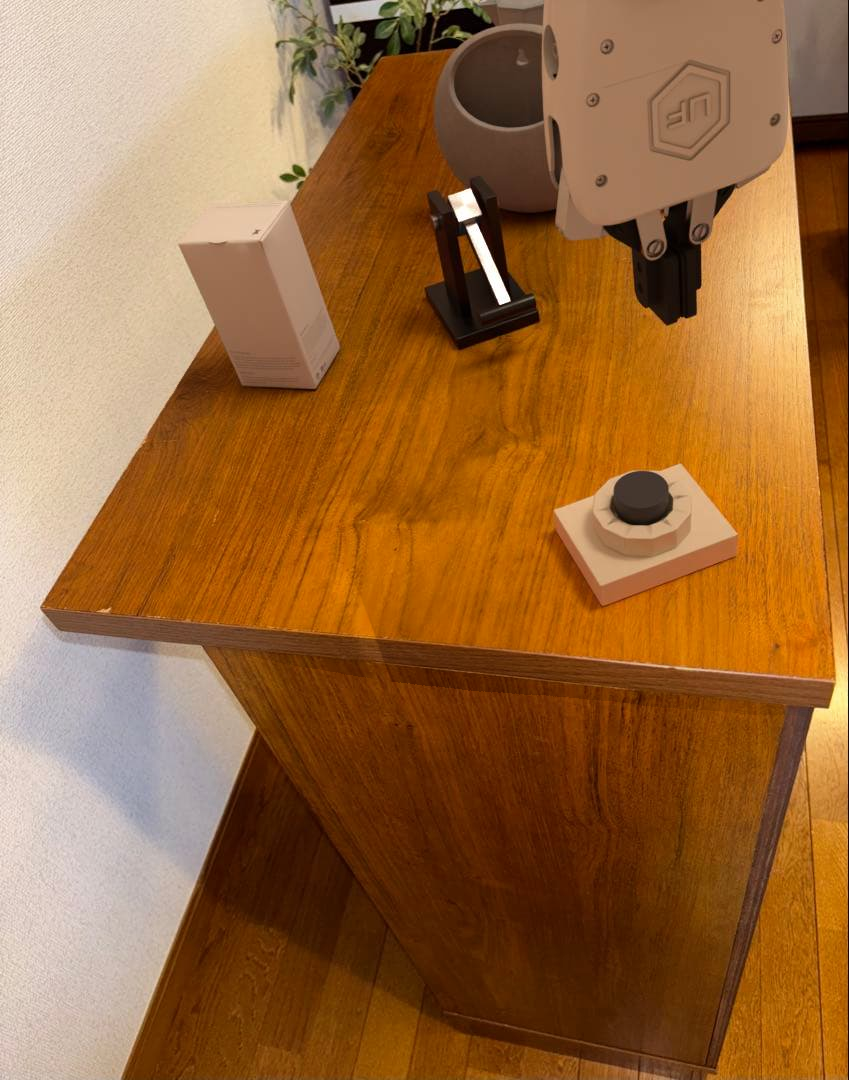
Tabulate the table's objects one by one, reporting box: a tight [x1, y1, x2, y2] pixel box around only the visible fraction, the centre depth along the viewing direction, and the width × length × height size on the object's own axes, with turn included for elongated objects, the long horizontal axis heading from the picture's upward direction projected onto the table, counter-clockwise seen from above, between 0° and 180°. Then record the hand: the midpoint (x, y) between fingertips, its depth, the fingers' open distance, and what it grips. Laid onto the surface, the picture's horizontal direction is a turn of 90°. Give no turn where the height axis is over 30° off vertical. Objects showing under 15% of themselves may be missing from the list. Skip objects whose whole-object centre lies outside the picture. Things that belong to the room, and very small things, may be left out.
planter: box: [433, 23, 559, 214], centre depth 97 cm, size 18×7×19 cm, turn 72°
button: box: [614, 470, 669, 526], centre depth 66 cm, size 4×4×2 cm
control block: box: [553, 463, 739, 607], centre depth 68 cm, size 10×8×4 cm
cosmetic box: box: [177, 200, 341, 390], centre depth 87 cm, size 8×7×16 cm
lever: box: [446, 188, 538, 327], centre depth 85 cm, size 12×5×2 cm, turn 18°
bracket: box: [424, 176, 541, 350], centre depth 89 cm, size 10×8×12 cm
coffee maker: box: [477, 0, 544, 63], centre depth 111 cm, size 15×9×18 cm, turn 73°
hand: (668, 307), depth 51 cm, fingers closed
